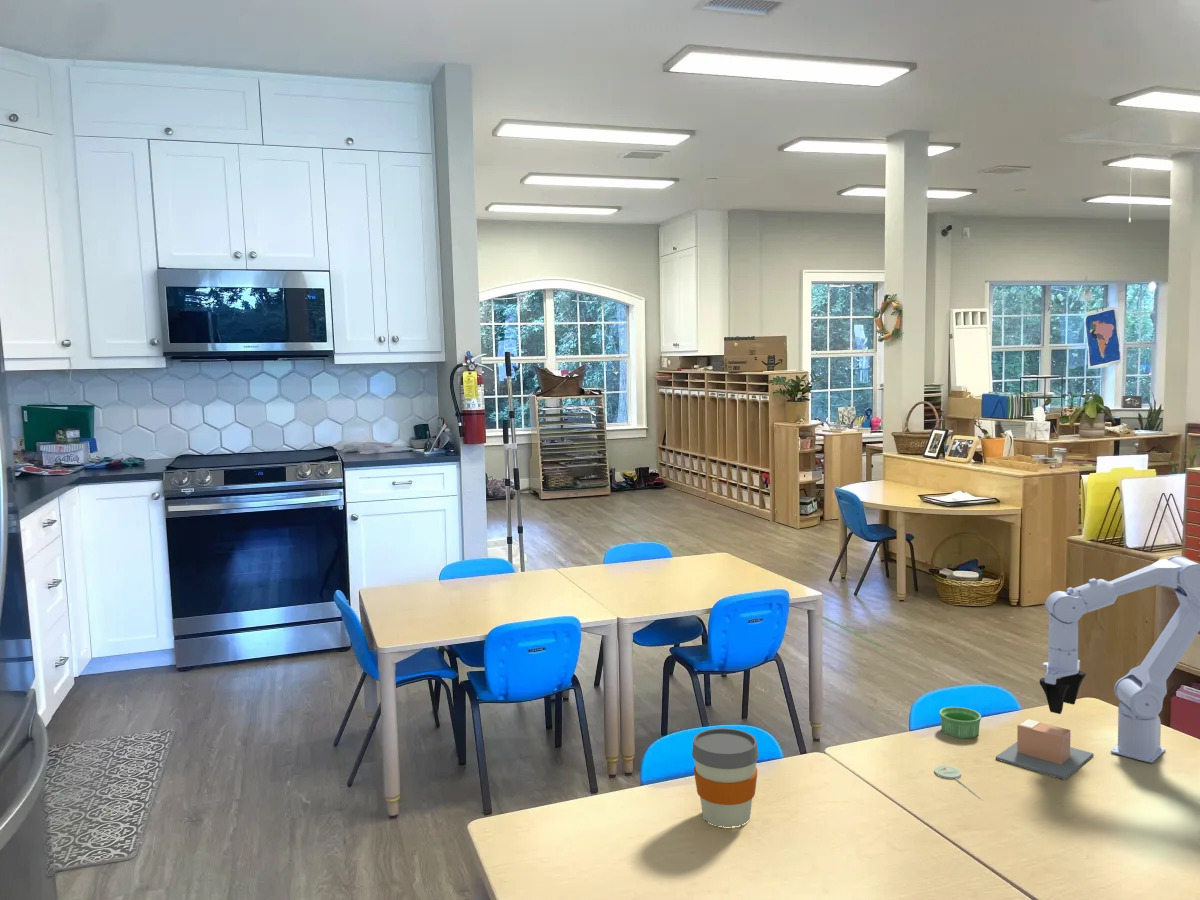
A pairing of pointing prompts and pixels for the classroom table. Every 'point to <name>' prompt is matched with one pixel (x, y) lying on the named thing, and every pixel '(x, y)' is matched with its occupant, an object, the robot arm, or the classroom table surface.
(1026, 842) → the classroom table surface
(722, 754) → the reusable coffee cup
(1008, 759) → the mat
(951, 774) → the sign
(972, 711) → the ramekin
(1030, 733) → the brick
